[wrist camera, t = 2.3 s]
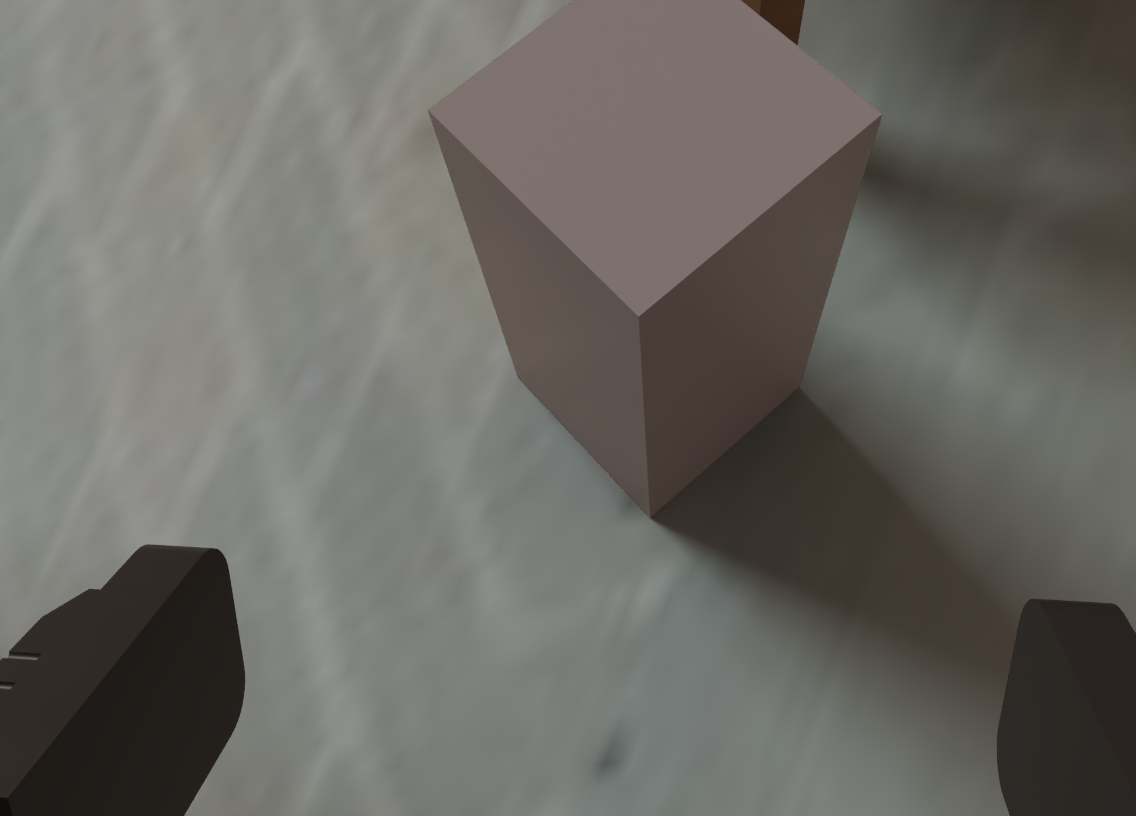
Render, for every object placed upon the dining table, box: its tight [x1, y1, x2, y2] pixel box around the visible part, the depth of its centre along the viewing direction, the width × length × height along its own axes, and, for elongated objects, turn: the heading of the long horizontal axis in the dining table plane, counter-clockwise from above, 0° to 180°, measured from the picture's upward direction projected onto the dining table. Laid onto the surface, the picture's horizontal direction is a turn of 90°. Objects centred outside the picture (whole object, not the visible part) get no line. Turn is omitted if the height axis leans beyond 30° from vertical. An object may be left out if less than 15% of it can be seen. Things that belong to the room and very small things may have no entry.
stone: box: [428, 0, 882, 518], centre depth 20 cm, size 4×4×10 cm
